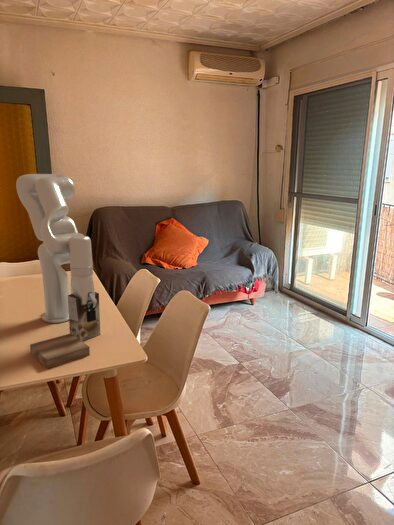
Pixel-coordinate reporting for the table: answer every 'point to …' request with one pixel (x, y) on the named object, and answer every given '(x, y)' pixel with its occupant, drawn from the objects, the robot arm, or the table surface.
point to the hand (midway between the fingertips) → (85, 317)
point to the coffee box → (82, 319)
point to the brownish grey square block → (59, 350)
